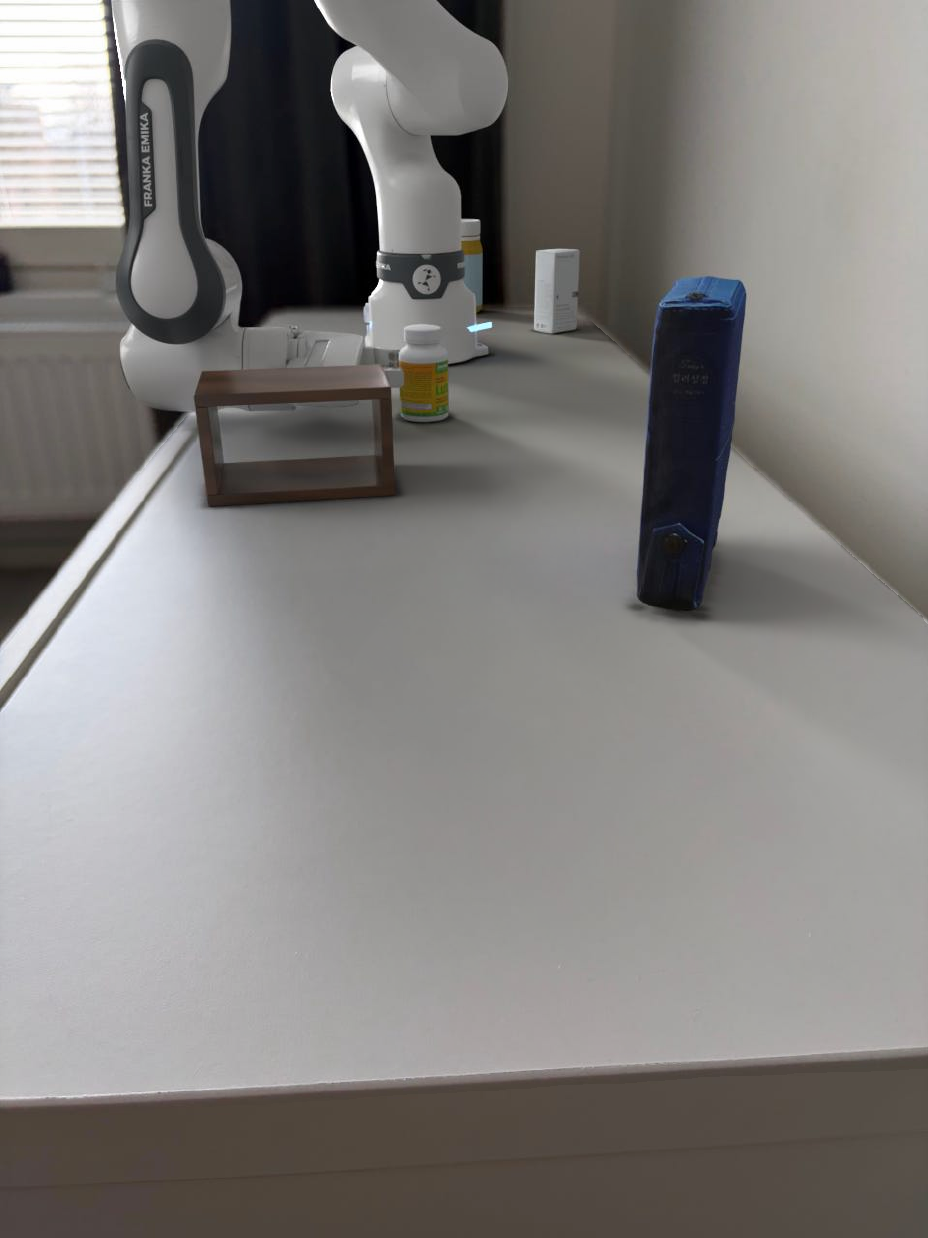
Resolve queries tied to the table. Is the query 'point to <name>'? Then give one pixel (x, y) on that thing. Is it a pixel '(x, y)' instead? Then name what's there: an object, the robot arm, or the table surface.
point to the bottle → (472, 258)
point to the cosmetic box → (556, 290)
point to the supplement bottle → (424, 375)
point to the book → (688, 437)
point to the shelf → (297, 474)
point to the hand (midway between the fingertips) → (404, 367)
